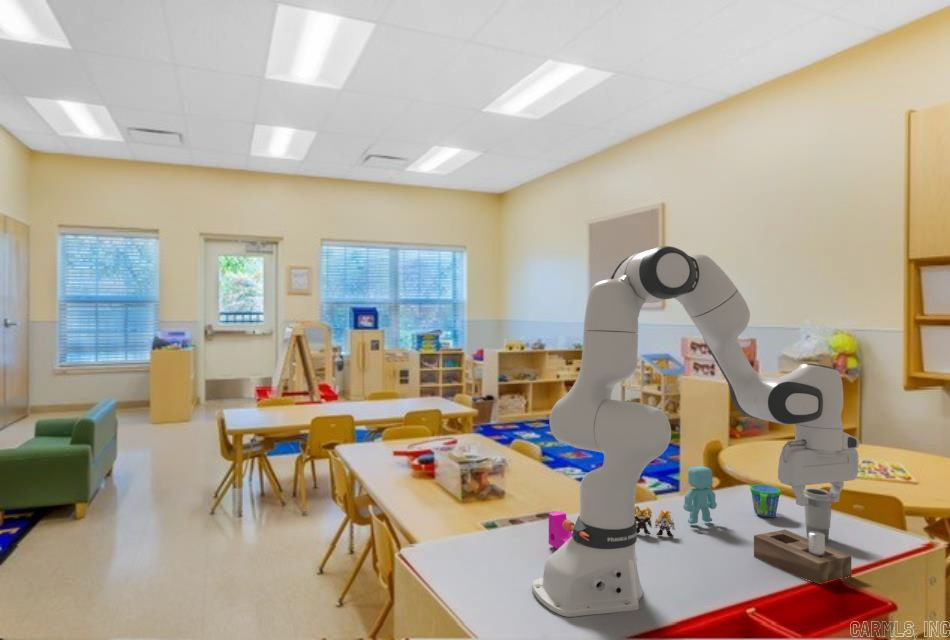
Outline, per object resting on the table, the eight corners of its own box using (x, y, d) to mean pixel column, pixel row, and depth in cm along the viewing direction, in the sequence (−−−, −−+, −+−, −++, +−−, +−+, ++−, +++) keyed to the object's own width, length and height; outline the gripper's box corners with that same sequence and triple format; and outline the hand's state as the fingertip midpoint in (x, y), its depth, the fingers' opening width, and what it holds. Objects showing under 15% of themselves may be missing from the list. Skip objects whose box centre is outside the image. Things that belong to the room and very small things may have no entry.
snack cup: (776, 523, 151) (776, 495, 151) (745, 516, 156) (745, 490, 156) (784, 512, 160) (784, 486, 160) (755, 506, 165) (755, 481, 165)
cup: (839, 544, 137) (839, 496, 137) (812, 544, 137) (812, 495, 137) (822, 533, 144) (822, 487, 144) (796, 533, 144) (796, 487, 144)
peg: (818, 579, 118) (818, 537, 118) (805, 573, 121) (805, 532, 121) (827, 576, 119) (828, 535, 119) (814, 571, 122) (815, 530, 122)
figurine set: (609, 526, 149) (609, 502, 149) (674, 532, 145) (674, 507, 145) (609, 531, 145) (609, 506, 145) (675, 537, 141) (675, 512, 141)
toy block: (608, 562, 127) (608, 529, 127) (586, 568, 124) (586, 534, 124) (569, 539, 140) (569, 509, 140) (548, 543, 137) (548, 513, 137)
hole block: (818, 587, 115) (818, 563, 115) (753, 556, 129) (753, 535, 129) (851, 579, 118) (851, 556, 118) (784, 550, 133) (784, 529, 133)
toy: (708, 517, 155) (708, 463, 155) (721, 523, 151) (721, 468, 151) (679, 520, 153) (679, 466, 153) (690, 527, 148) (691, 471, 148)
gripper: (796, 444, 113) (796, 512, 113) (864, 439, 121) (864, 503, 120) (770, 438, 119) (769, 503, 119) (836, 434, 126) (836, 495, 126)
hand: (817, 503), depth 120 cm, fingers open, 8 cm apart
